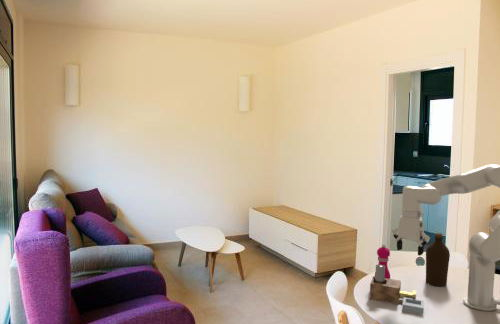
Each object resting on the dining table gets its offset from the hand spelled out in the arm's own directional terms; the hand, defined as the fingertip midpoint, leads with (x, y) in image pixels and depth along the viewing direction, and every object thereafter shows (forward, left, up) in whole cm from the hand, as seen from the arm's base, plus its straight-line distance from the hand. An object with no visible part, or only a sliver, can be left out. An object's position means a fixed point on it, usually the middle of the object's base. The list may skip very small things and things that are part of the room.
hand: (409, 252), depth 179 cm
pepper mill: (+12, -11, -21) cm, 27 cm away
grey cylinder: (+12, +4, -21) cm, 24 cm away
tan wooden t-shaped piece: (0, +4, -21) cm, 21 cm away
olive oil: (-12, -25, -21) cm, 35 cm away
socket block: (+9, +4, -21) cm, 23 cm away
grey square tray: (-3, +11, -21) cm, 24 cm away
